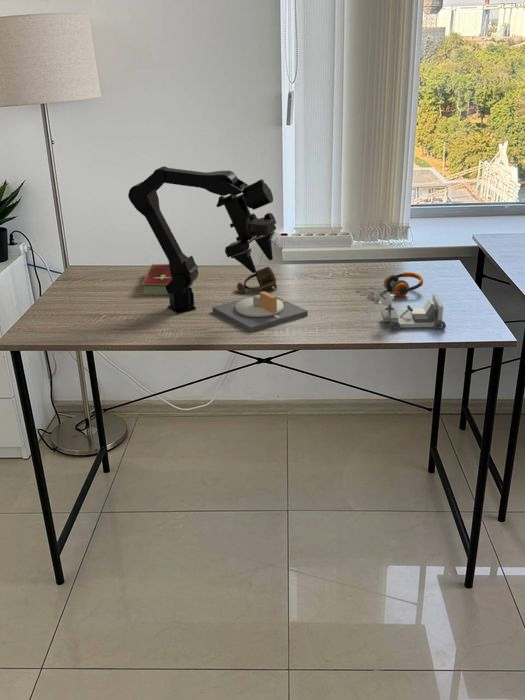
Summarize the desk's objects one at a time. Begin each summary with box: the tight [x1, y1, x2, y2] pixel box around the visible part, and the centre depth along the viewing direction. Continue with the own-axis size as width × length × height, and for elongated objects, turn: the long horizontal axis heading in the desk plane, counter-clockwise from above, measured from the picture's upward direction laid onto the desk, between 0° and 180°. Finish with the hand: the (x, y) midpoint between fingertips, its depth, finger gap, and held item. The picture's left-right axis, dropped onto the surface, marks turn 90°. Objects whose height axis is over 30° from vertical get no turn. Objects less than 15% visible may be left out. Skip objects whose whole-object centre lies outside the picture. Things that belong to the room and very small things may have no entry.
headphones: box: [356, 271, 424, 304], centre depth 227 cm, size 16×5×20 cm
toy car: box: [378, 293, 447, 332], centre depth 204 cm, size 18×10×12 cm
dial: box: [236, 290, 284, 317], centre depth 213 cm, size 14×14×6 cm
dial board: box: [212, 291, 309, 333], centre depth 215 cm, size 20×20×2 cm
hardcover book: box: [140, 263, 172, 296], centre depth 240 cm, size 12×21×4 cm, turn 179°
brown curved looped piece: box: [236, 266, 278, 294], centre depth 233 cm, size 7×13×10 cm
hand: (263, 266), depth 208 cm, fingers open, 9 cm apart
